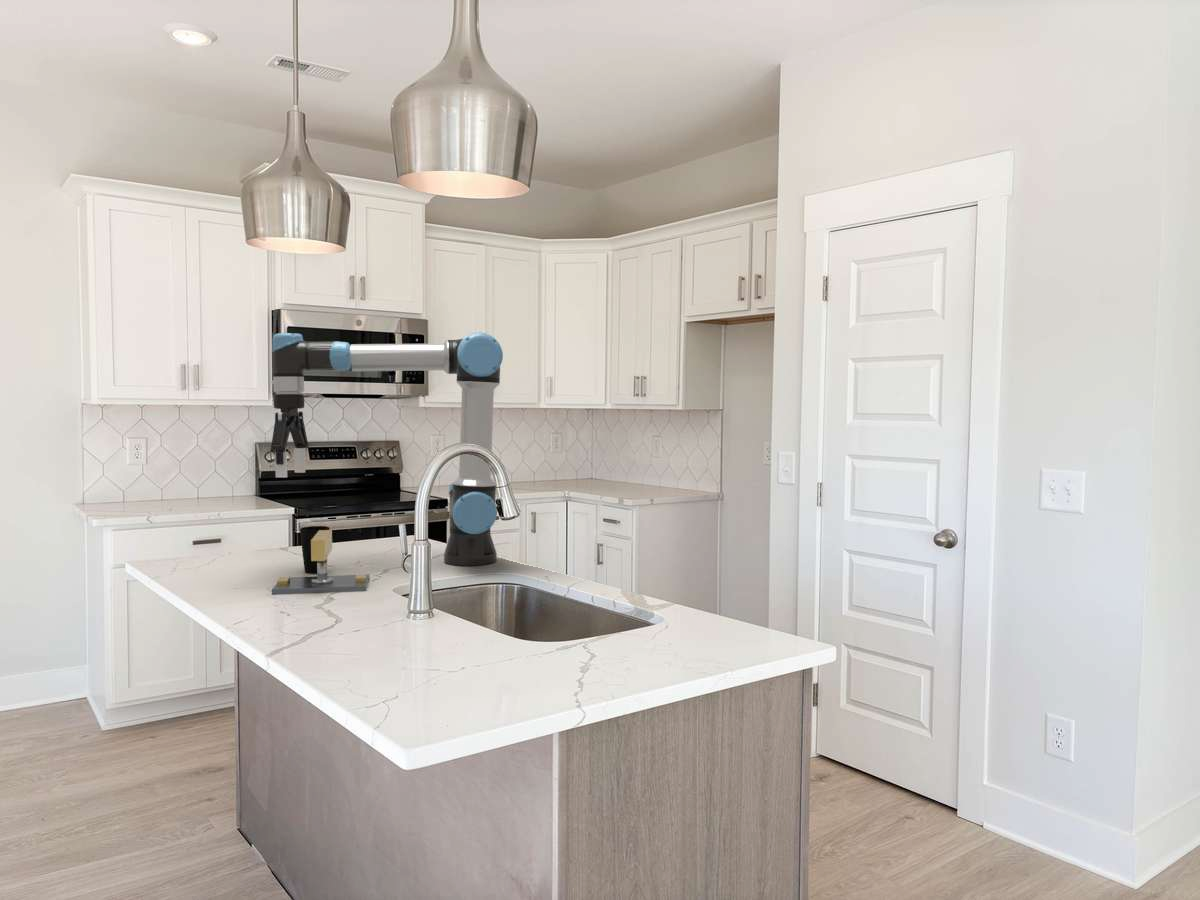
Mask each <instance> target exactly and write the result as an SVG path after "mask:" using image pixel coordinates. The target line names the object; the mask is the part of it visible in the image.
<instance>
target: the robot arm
mask: <svg viewBox="0 0 1200 900" xmlns="http://www.w3.org/2000/svg"><path fill="white" fill-rule="evenodd" d="M272 336H273V337H272V348H271V349H272V350H271V354H272V355H271V357H272V358H271V359H272V381H271V384H272V385H273V392H274V393H275V394H274V395H273V408H274V409H275V410H276V409H278V410H279V409H280V412H275V414H274V426H273V434H272V439H271V445H270V451H271V452H273V453H274V465H275V466H274V467H275V478H288V455H287V454H288V453H287V451H286V447H287V444H288V440H289V436H290V435H291V438H292V441H293V444H294V448H293V462H294V463H293V466H294V473H298V474H299V473H301V474H302V473H303V474H304V473H306V449H308V448H309V442H308V437H307V431H306V427H305V421H304V413H303V411H299V409H304V408H305V395H304V394H303V393H304V391H305V377H304V371H321V372H322V371H323V372H329V373H339V372H392V371H393V372H398V371H399V372H403V371H404V372H405V371H406V372H408V371H410V372H411V371H413V372H414V371H415V372H416V371H417V372H418V371H420V372H421V371H422V372H423V371H427V372H429V371H444V372H445V374H447V375H456V383H457V385H458V386H459V387H460V388H461V404H460V405H461V407H460V408H461V411H460V413H461V414H460V434H459V437H460V438H459V440H460V441H459V445H460V444H461V443H474V444H478V445H481V446H483V447H485V448H487V449H488V450H490V451H491V452H492V449H493V448H492V446H493V424H494V422H493V421H494V420H493V418H494V391H495V389H496V388H497V387H498V386H499V385H500V384H501V383H500V380H501V365H502V363H503V358H504V353H503V349H502V347H501V344H500V342H498V340H497V338H495V337H493V336H492V335H490V334H488V333H486V332H481V331H480V332H473V333H470V334H468V335H466V336H465V337H464V338H460V339H446V340H444V342H443V343H356V344H355V343H354V344H353V343H352V344H351V343H349V342H348V341H347V342H346V341H338V340H337V341H336V340H335V341H305V340H304V339H303V337H304V336H303V335H302V334H301V333H295V332H294V333H291V332H287V333H285V332H279V333H278V332H277V333H276V334H274V335H272ZM458 467H459V469H458V470H459V471H458V477H457V478H456V479H455V480H454V481H453V482H452V483H450V485H449V491H448V495H449V538H448V541H447V543H446V546H445V550H444V553H443V562H444V563H445V564H447V565H452V566H461V567H462V566H468V567H469V566H482V565H483V566H484V565H489V564H493V563H496V562H497V560H498V559H497V558H498V557H497V556H498V555H497V550H496V547H495V545H494V541H493V538H492V535H491V528H492V526H493V525H494V524H495V522H496V520H497V516H498V509H497V504H496V495H497V493H496V492H497V483H496V482H495V481H494V479H492V477H491V475H492V469H491V470H490V468H489V466H488V465H487V464H486V463H485V462H484V461H482V460H481V459H480V458H479V457H477V456H474V455H469V454H463V455H460V454H459V466H458Z"/></svg>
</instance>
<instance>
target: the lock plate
mask: <svg viewBox="0 0 1200 900" xmlns="http://www.w3.org/2000/svg"><path fill="white" fill-rule="evenodd" d="M370 578H371V575H370V574H343V575H328V561H327V562H318V563H317V574H316V575H315V576H292V577H291V576H287V577H286V576H285V577H283V576H282V577H279V578H278V580H277V581H276V584H274V586H273V587H272V589H271V595H291V594H293V595H294V594H316V593H317V594H318V593H340V592H341V593H344V592H346V593H348V592H366V591H367V589H368V587H369V582H370Z"/></svg>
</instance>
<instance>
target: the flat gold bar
mask: <svg viewBox="0 0 1200 900" xmlns="http://www.w3.org/2000/svg"><path fill="white" fill-rule="evenodd" d="M332 550H333V530H332V529H330V530H319V531H318V532H317V534H316V535H315V536H314V537H313V539H312V540H311V561H317V562H326V561H327V562H328V557H329V555H330V554H331V551H332Z"/></svg>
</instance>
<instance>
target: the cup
mask: <svg viewBox="0 0 1200 900" xmlns="http://www.w3.org/2000/svg"><path fill="white" fill-rule="evenodd" d="M319 530H331V527H329V526H326V525H325V526H324V525H314V526H313V525H312V526H310V525H309V526H303V527H300V528H299V532H300V533H299V534H300V543H301V551H302V559H303V568H304V574H307V575H317V563H318V562H317V561H311V540H312V539H313V537H314V536H315V535H316V534H317V532H318V531H319ZM326 562H327V563H328V560H327V561H326Z"/></svg>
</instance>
